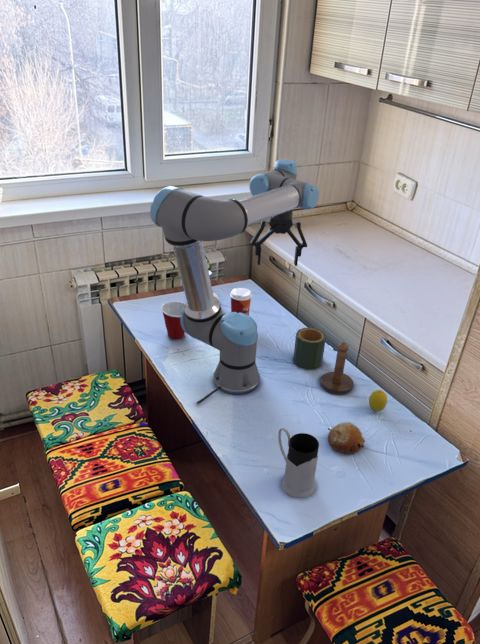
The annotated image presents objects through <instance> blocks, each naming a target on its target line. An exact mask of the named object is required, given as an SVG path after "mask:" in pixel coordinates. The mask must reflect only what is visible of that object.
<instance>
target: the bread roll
mask: <svg viewBox="0 0 480 644" xmlns="http://www.w3.org/2000/svg"><path fill="white" fill-rule="evenodd" d="M327 441H328V444H329V446H330V447H331V448H332V449H333V450H334V451H336V452H338V453H342V454H344V455H345V454H347V455H353V454H356V453H358V452H359V451H361V450H362V448H365V445H364V443H365V442H366V440H365V438H364V437H363V434H362V431H361V430H360V429H359V427H358V426H356V425H355V424H354V423H352V422H347V421H346V422H340V423H338V424H337V425H335V426H334V427H332V428H331V429H330V431H329V432H328V435H327Z"/></svg>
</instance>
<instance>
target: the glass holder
mask: <svg viewBox="0 0 480 644" xmlns="http://www.w3.org/2000/svg"><path fill="white" fill-rule="evenodd" d="M282 431H283V432H285V434H286V437H287V447H288V450H287V454H286V453H285V450H284V447H283V443H282V442H283V441H282ZM277 435H278V436H277V440H278V446H279V448H280V449H279V450H280V451H281V454H282V457H283V459H284V461H285V469H284V477H283V479H282V482H281V485H282V489H283V491H284V492H285V493H286V494H287V495H289V496H291V497H293V498H298V499H301V498H307V497H309V496H311V495H312V494H313V493H314V491H315V490H316V489H315V487H316V485H315V478H316V472H317V465H318V458H319V456H318V455H319V454H318V453H319V447H320V442H319V440H318V439H317V438H316V437H315V436H314V435H312V434H310V433H305V432H299V433H295V434H293V435H292V436H291V434H290V433H289V430H287V428H285V427H281V428H279V430H278V434H277Z"/></svg>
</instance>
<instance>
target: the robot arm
mask: <svg viewBox="0 0 480 644" xmlns="http://www.w3.org/2000/svg"><path fill="white" fill-rule="evenodd" d="M297 176H298V164H297V163H296V162H295V161H294V160H291V159H277V160H276V161H275V163H274V167H273V169H272V170H269V171H265V172H260V173H258V174H255V175H254V176H252V178H251V179H250V180H249V184H248V186H249V187H248V188H249V191H250V194H251V195H252V196H248V197H245V198H242V199H239V200H238V199H236V198H230V199H226V200H221V199H220V200H219V199H215V198H212V197H208V196H204V195H202V194H199V193H196V192H191V191H189V190H186V189H184V188H182V187H176V186H173V185H172V186H171V185H168V186H165V187H163V188H161V189H160V190H159V191H158V192H156V194H155V195H154V197H153V200H152V202H151V205H150V208H149V209H150V210H149V215H150V219H151V221H152V222H153V224H154V225H156V227H160V228H161V229H162V233H163V236H164V239H165V242H166V243H167V244H169V245H171V246H172V250H173V253H174V258H175V261H176V264H177V265H176V266H177V269H178V273H179V277H180V280H181V284H182V288H183V291H184V295H185V299H186V305H185V307H184V308H183V310H182V313H181V314H182V316H181V318H180V322H181V327H182V329H183V330H184V332H185V333H184V334H187V335H188V336H189V337H191V338H192V339H195V340H197V341H198V342H199V341H200V342H202V343H204V344H206V345H208V346H210V347H211V348H214V349H215V350H217V351H219V361H218V362H217V365H216V368H215V370H214V372H213V384H214V386H215V389H214V390H212V391H211V392H209V393H208V394H206V395H205V396H204V397H203V398H201V399H200V400H198V401H196V404H197V405H199V404H201V403H203V402H204V401H205V400H207V399H208V398H209V397H211V396H212V395H214V394H216V393H217V392H218V391H220V392H223V393H225V394H229V395H235V396H236V395H238V396H240V395H247V394H250V393H252V392H254V391H255V390H257V389H258V387H259V385H260V381H261V379H260V378H261V377H260V373H259V369H258V366H257V363H256V357H257V345H258V344H257V343H258V337H259V335H258V333H259V332H258V325H257V322H256V321H255V319H254V318H253V317H252V316H250V315H249V316H248V315H246V314H244V313H240V312H239V313H237V312H231V311H230V312H227V313H226V312H224V311H223V310H222V306H221V301H220V299H219V300H218V299H217V298H216V297H214V295H213V293H214V291H213V286H212V281H211V277H210V276H211V275H210V276H209V272H208V270H209V269H208V267H207V263H208V262H207V259H206V252H205V248H204V243H203V242H215V241H221V240H226V239H229V238H232V237H236V236H238V235H241V234H243V233H244V232H245V231H246V230H247V229H248V227H251V226H255V225H256V224H259V223H260V225H259V226H258V228H257V229H256V231H255V233H254V234H253V236H252V238H251V239H250V245H251V246H252V247H255V248H254V254H255V256H257V258H256V259H257V262H256V263H257V265H258V266H261V255H262V244H264V243H265V242H266V241H267V240H268V239H269V238H270V237H271V236H272V235H274V234H276V235H277V234H282V235H285V234H286V233H287V234H288V236H289V237H290V238H291V239H292V241H293V242H294V243H295V245H296V246H295V250H294V260H293V264H294V266H295V267H298V260H299V257H302V253H303V252H302V251H303V249H304V248H308V243H307V241H306V238H305V235H304V233H303V230H302V223H301V220H300V219H297V220H295V221H294V220H293V215H294V214H293V213H294V210H296V209H298V208H301V209H303V210H312V209H314V208H315V207H316V205H317V203H318V202H319V197H320V191H319V189H318V187H317V186H316V185H314V184H311V183H309V182H306V181H301V180H297ZM268 225H269V228H268V229H267V230H266V231H265V232H264V229H265V228H266V227H267V226H268ZM293 226H294V228H296V229H297V232H298V234H299V237H300V240H301V241H300V240H299V239H298V238H297V236H296V235H295V233H294V232H293V231H292V229H291V228H292V227H293ZM263 232H264V233H263ZM262 233H263V235H261V234H262Z"/></svg>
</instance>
